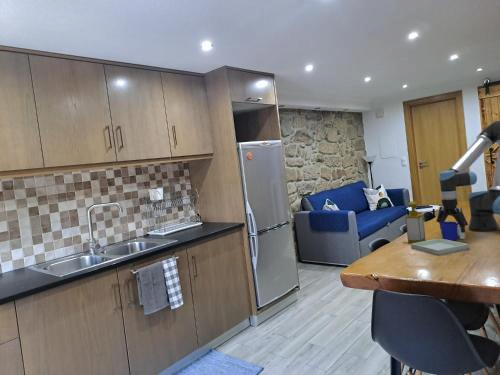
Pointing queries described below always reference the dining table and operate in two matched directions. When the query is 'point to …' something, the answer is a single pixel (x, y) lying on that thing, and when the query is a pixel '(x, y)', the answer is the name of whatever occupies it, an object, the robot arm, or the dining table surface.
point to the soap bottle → (415, 225)
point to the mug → (449, 230)
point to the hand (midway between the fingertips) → (452, 236)
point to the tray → (439, 246)
